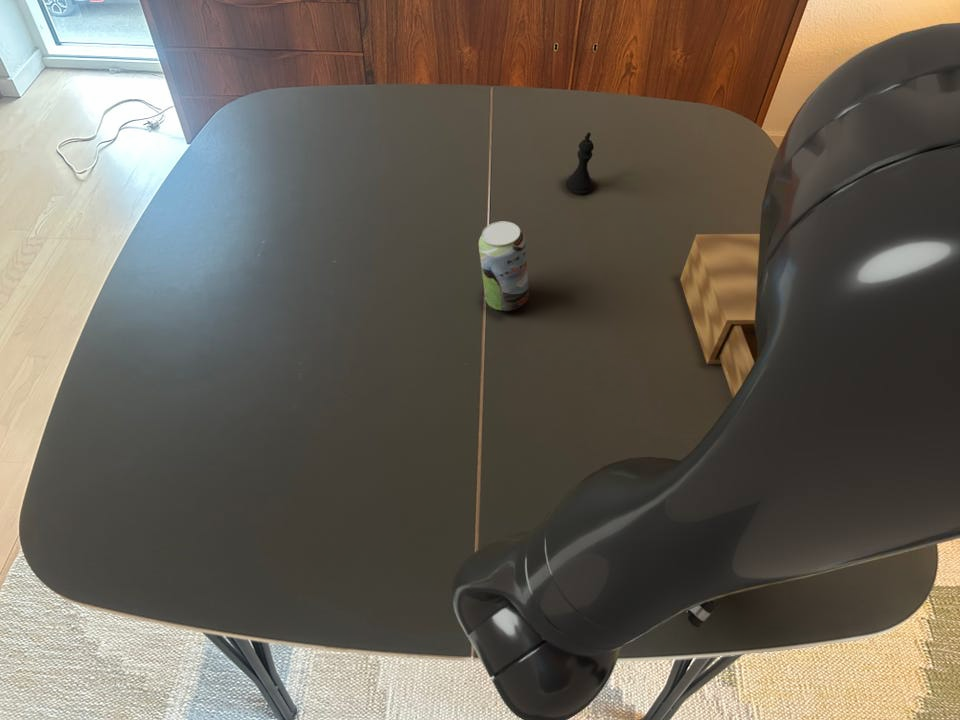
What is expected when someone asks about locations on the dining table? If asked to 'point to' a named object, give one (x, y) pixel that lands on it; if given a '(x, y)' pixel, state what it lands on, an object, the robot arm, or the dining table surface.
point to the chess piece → (582, 170)
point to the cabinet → (721, 286)
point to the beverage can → (504, 266)
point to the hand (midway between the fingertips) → (673, 544)
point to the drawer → (738, 354)
